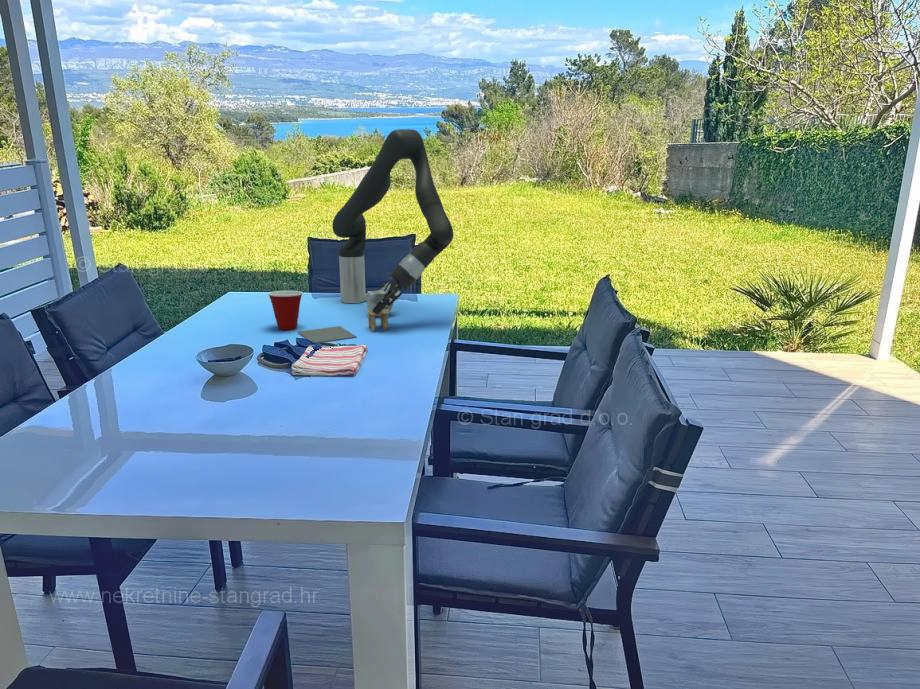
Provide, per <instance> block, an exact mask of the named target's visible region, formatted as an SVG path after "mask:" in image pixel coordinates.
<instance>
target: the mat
mask: <svg viewBox="0 0 920 689" xmlns="http://www.w3.org/2000/svg"><path fill="white" fill-rule="evenodd" d="M297 333H298V334H299V335H300V336H301V337H302V338H303V339H305V340H306V341H308V340H309V341H313V342H315V343H316V344H321V343H322V344H323V343H329V342H335V341H342V340H350V339H351V340H352V339H355V338H357V335H356V334H353V333H352V332H350V331H349V330H347V329H345V328H344V327H342V326H341V325H338V326H337V325H336V326H330V327H323V328H314V329H307V330H300V331H297ZM309 341H308V342H309Z"/></svg>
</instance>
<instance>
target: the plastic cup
mask: <svg viewBox="0 0 920 689" xmlns="http://www.w3.org/2000/svg"><path fill="white" fill-rule="evenodd" d="M303 294H304V292H303V291H299V290H276V291H275V290H273V291H269V292H268V293H267V295H268V296H269V299H270V302H271V306H272V310H273V314H274V318H275V321H276V324H277V328H278V330H280V331H293V330H296V329H297V327H298V320H299V315H300V305H301V300H302V296H303Z"/></svg>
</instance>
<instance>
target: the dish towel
mask: <svg viewBox="0 0 920 689" xmlns="http://www.w3.org/2000/svg"><path fill="white" fill-rule="evenodd" d="M312 346H313V345H309V346H308V347H307V348H306V349H305V351H304V353H303V354H302V355H301V356H300V358H299V359H298V360H296V361H295V362H294V363H291V367H290V369H291V373H292V375H293V376H294V375H295V376H314V377H315V376H316V377H319V376H320V377H322V376H326V377H327V376H329V377H331V376H332V377H334V376H335V377H336V376H354V377H355V376H356V373H358V371H360V368H361V366H362V364H363V361H364V359H365V358H366V355H367V352H368V345H366V344H361V345H343V346H341V345H338V346H321V347H322V348H321V349H319V350H317V351H315V353H314V354H313V356H311V357H309V358H307V357H306V356H307V355H309V354H310V352H311V351H312V350H314V349H313V347H312ZM330 347H331V348H330ZM332 348H333V349H332Z"/></svg>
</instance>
